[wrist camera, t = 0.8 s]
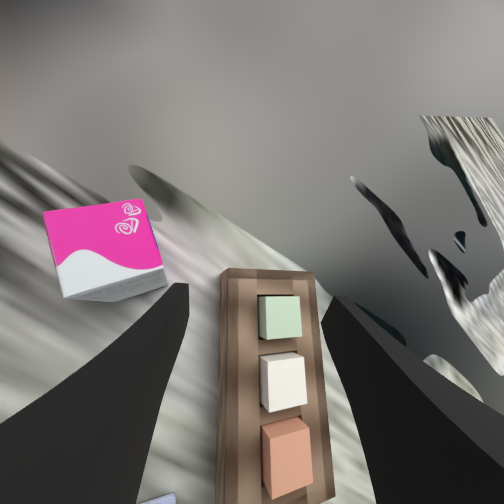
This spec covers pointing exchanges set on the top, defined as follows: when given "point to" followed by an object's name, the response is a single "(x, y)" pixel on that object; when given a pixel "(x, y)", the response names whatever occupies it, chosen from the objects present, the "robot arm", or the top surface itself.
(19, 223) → the top surface
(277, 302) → the sage key
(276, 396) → the cream key
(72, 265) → the supplement box
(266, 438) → the terracotta key
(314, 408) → the frame
